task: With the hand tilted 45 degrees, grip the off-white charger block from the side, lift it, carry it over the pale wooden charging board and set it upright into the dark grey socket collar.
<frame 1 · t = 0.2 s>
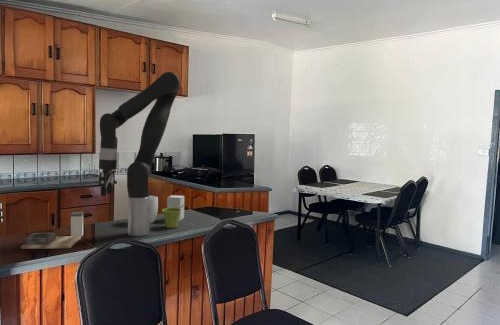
hand: (106, 194, 169), 18 cm above the countertop, tool pointing down, fingers open, 8 cm apart
supplement box: (175, 219, 203), on the countertop
charger: (77, 235, 167), on the countertop
charging board: (52, 243, 154), on the countertop
plant pot: (171, 227, 187), on the countertop
mug: (145, 222, 194), on the countertop
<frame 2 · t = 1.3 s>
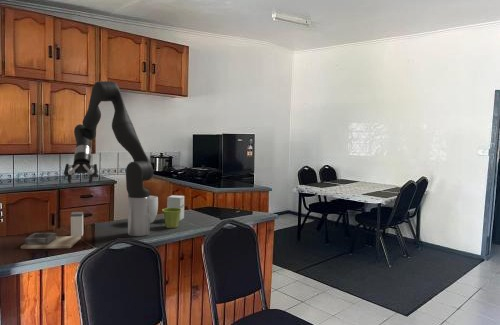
hand: (79, 182, 176), 22 cm above the countertop, tool tilted 45°, fingers open, 8 cm apart
nothing on the countertop moved.
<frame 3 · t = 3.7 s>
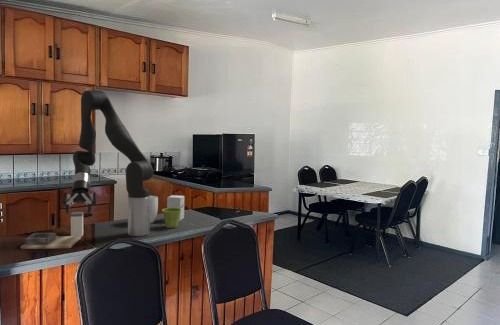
hand: (78, 212, 170), 9 cm above the countertop, tool tilted 45°, fingers open, 8 cm apart
nothing on the countertop moved.
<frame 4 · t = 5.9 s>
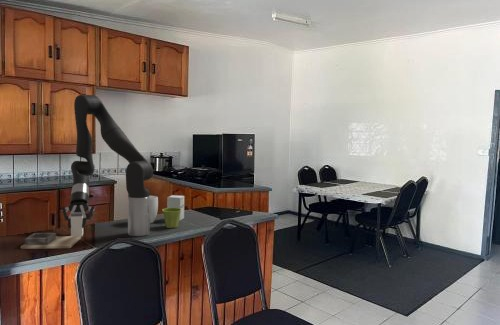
hand: (76, 227, 165), 4 cm above the countertop, tool tilted 45°, fingers closed on charger, 4 cm apart
charger: (77, 235, 167), on the countertop, touching gripper
everything else where it was.
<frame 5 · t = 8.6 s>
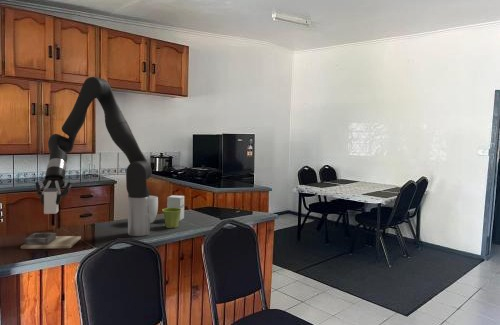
hand: (50, 203, 154), 16 cm above the countertop, tool tilted 45°, fingers closed on charger, 4 cm apart
charger: (51, 212, 156), point 12 cm above the countertop, touching gripper
everything else where it was.
when the fingers open (7 cm above the countertop, at t = 11.7 s): charger drops 1 cm, resting on charging board.
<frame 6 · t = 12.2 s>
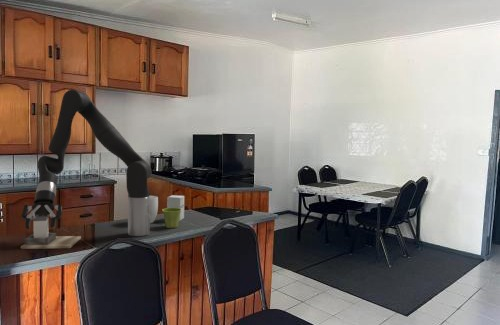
hand: (40, 227, 151), 7 cm above the countertop, tool tilted 45°, fingers open, 8 cm apart
charger: (41, 241, 153), point 1 cm above the countertop, touching charging board
everything else where it was.
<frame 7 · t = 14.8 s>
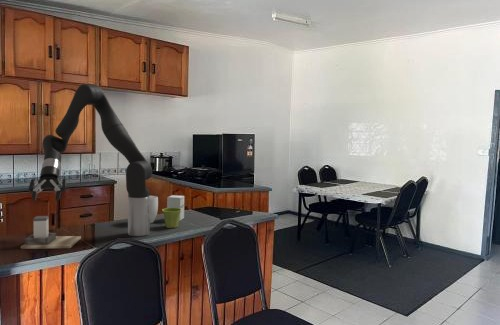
hand: (45, 199, 161), 16 cm above the countertop, tool tilted 45°, fingers open, 8 cm apart
nothing on the countertop moved.
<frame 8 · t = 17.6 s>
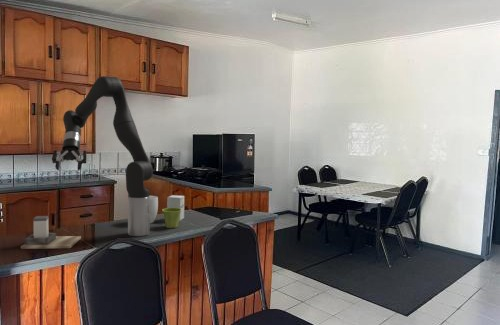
hand: (68, 169, 171), 29 cm above the countertop, tool tilted 45°, fingers open, 8 cm apart
nothing on the countertop moved.
at the end: charger 0.1 cm from the target spot on the charging board, point 1.0 cm above the charging board's base; charger tilted 0°; the gripper is holding nothing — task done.
